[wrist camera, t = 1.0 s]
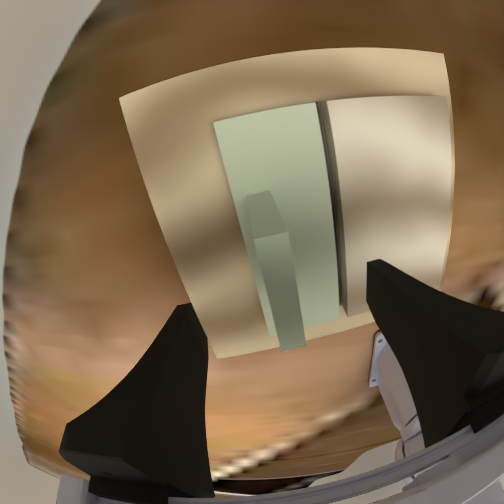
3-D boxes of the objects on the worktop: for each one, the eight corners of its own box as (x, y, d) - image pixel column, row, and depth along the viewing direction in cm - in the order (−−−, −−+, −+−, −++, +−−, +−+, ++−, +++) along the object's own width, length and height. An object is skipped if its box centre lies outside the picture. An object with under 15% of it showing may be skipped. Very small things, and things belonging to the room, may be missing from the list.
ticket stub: (334, 308, 20) (363, 374, 15) (267, 324, 20) (279, 396, 15) (308, 102, 13) (357, 102, 8) (214, 121, 14) (202, 130, 8)
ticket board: (431, 289, 23) (447, 309, 20) (217, 345, 24) (217, 372, 21) (430, 55, 13) (457, 52, 10) (128, 98, 14) (108, 97, 11)
